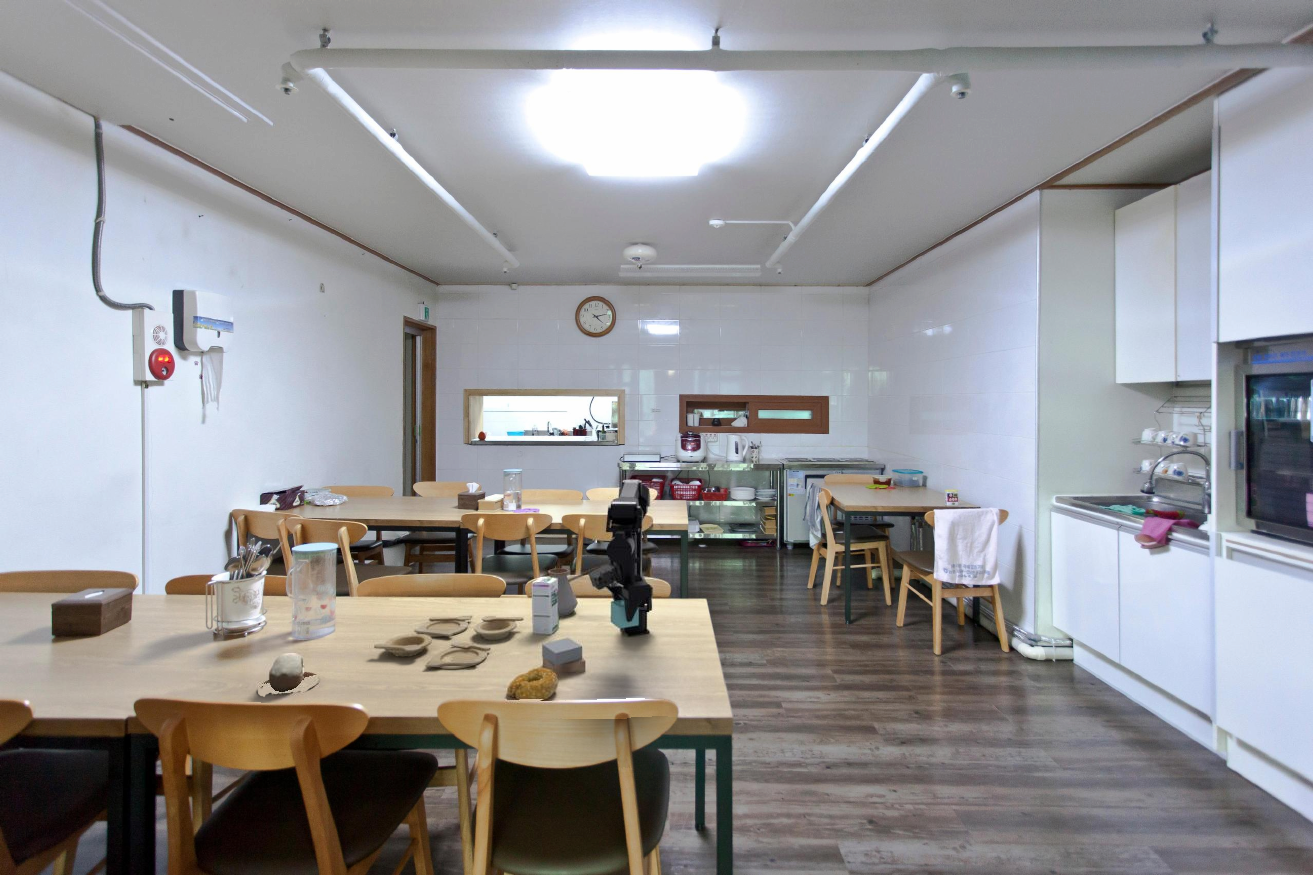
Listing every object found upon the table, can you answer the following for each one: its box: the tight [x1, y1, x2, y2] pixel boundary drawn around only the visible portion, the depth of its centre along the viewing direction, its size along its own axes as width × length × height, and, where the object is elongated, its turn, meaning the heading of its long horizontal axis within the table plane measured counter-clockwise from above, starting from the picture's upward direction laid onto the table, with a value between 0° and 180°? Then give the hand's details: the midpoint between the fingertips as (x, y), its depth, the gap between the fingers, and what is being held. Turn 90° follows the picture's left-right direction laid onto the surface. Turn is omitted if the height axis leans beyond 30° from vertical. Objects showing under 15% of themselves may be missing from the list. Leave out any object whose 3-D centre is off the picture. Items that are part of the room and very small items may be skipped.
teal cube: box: [610, 600, 639, 629], centre depth 150 cm, size 5×5×5 cm
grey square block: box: [541, 637, 583, 666], centre depth 151 cm, size 7×7×3 cm
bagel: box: [506, 667, 559, 700], centre depth 137 cm, size 10×11×5 cm
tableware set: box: [373, 615, 524, 670], centre depth 167 cm, size 35×29×4 cm
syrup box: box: [531, 576, 560, 636], centre depth 176 cm, size 6×6×14 cm
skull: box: [262, 652, 317, 692], centre depth 141 cm, size 12×10×10 cm
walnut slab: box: [542, 657, 586, 677], centre depth 151 cm, size 8×8×3 cm
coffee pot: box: [547, 563, 608, 617], centre depth 193 cm, size 21×12×15 cm, turn 93°
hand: (624, 618), depth 150 cm, fingers closed on teal cube, 5 cm apart
